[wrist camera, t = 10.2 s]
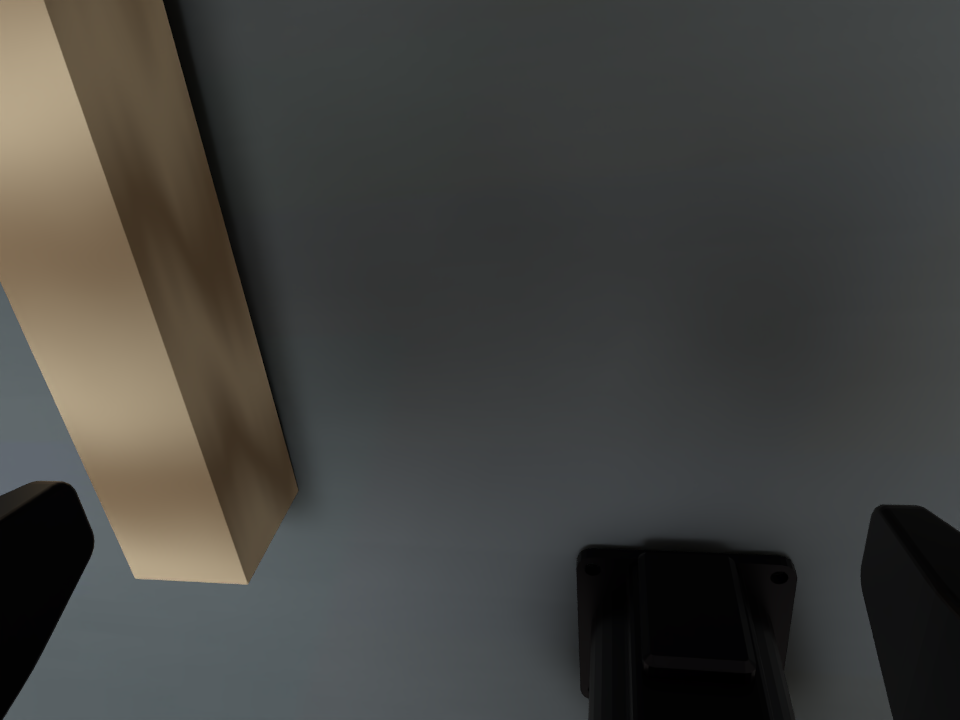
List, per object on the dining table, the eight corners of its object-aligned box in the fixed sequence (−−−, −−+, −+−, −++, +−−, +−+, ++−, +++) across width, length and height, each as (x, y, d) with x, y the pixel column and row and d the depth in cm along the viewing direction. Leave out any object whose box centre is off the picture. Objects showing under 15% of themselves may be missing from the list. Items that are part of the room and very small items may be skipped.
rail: (298, 490, 24) (235, 606, 20) (199, 487, 25) (119, 600, 21) (74, -315, 14) (-139, -406, 10) (-81, -287, 15) (-340, -361, 11)
